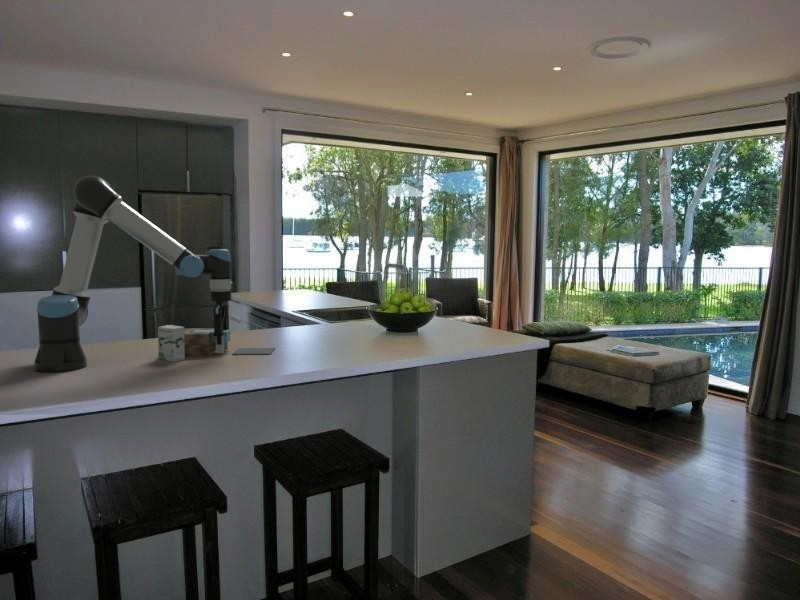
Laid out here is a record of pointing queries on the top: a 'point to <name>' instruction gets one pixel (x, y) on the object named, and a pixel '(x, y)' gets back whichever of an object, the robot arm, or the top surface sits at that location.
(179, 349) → the ink box
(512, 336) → the top surface
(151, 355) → the top surface
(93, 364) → the top surface
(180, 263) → the robot arm
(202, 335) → the block
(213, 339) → the slab
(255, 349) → the mat
